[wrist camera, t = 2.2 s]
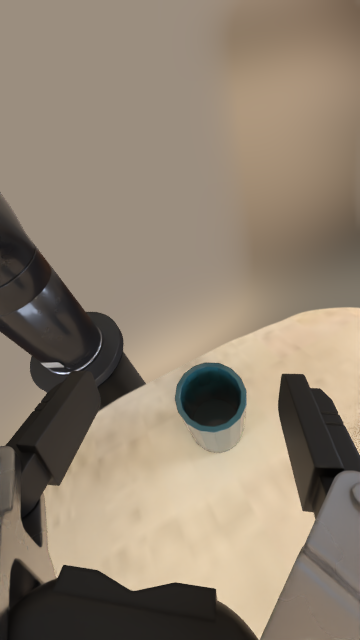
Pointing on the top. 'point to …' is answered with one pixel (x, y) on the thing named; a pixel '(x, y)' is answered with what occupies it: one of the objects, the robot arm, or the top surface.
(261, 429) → the top surface
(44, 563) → the robot arm
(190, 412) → the cup
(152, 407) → the top surface
